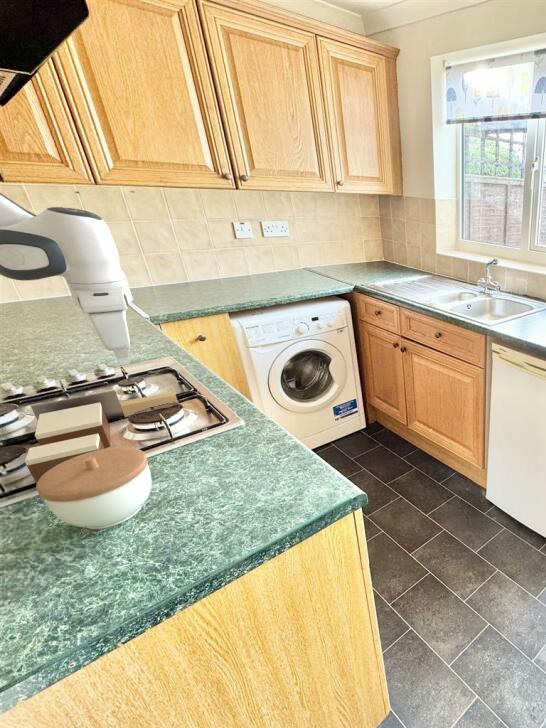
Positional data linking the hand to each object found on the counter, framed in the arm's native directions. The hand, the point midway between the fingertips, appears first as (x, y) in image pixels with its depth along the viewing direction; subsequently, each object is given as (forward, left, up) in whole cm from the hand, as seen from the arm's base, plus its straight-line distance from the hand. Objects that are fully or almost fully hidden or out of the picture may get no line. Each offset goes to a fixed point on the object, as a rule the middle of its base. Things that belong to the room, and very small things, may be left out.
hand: (124, 356), depth 91 cm
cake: (-11, -7, -15) cm, 19 cm away
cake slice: (-11, -19, -15) cm, 27 cm away
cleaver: (-5, +2, -15) cm, 16 cm away
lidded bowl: (-6, -36, -15) cm, 40 cm away
